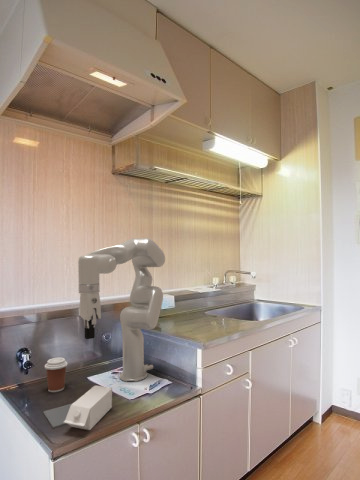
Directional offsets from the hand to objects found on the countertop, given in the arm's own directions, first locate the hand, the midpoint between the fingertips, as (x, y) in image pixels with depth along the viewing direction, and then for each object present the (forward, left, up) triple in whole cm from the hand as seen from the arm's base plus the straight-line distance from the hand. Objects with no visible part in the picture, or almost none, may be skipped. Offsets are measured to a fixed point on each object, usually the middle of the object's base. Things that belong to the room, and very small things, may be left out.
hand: (89, 338), depth 121 cm
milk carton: (-4, +3, -21) cm, 22 cm away
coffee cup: (+5, -24, -25) cm, 36 cm away
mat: (+6, +1, -25) cm, 26 cm away
